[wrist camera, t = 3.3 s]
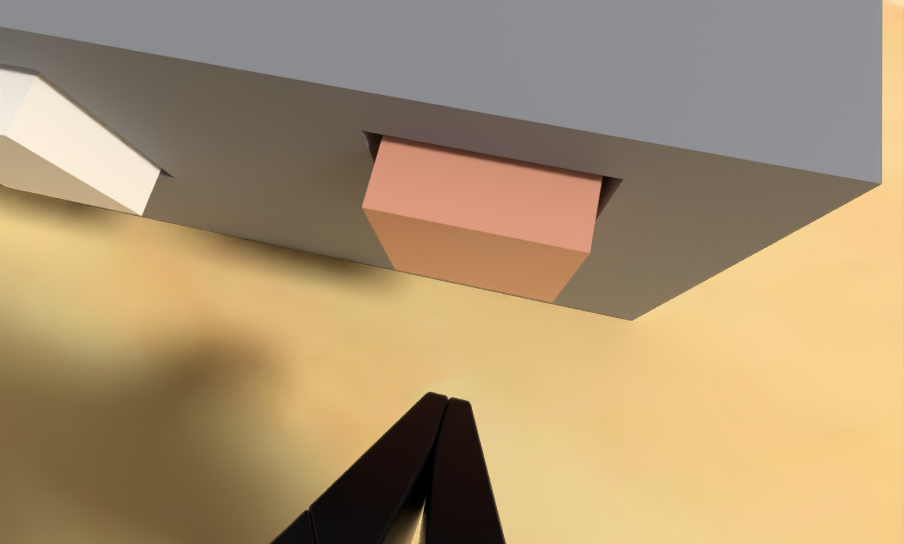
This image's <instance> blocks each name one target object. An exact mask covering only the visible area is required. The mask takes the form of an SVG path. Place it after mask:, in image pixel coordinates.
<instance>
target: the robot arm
mask: <svg viewBox="0 0 904 544" xmlns="http://www.w3.org/2000/svg"><path fill="white" fill-rule="evenodd" d="M424 504H425V505H424ZM423 507H424V511H423ZM422 511H423V517H422V523H421V531H420V539H419V544H506V542H505V538H504V534H503V530H502V526H501V522H500V518H499V514H498V510H497V506H496V502H495V498H494V494H493V490H492V486H491V482H490V478H489V474H488V470H487V466H486V462H485V458H484V454H483V450H482V446H481V442H480V438H479V434H478V430H477V426H476V422H475V418H474V414H473V410H472V406H471V404H470V402H469V401H466V400H462V399H458V398H454V397H451V398H450V399H449V400H448V397H447V396H446V395H442V394H437V393H433V392H428V393H426V394H425V395H424V396H423V397H422V398H421V399H420V400H419V401H418V402H417V403H416V404H415V405H414V406H413V407H412V408H411V409H410V410H409V411H408V412H407V413H406V414H405V415H403V416H402V417H401V418H400V419H399V420H398V421H397V422H396V423H395V424H394V425H393V426H392V427H391V428H390V429H389V430H388V431H387V432H386V433H385V434H384V435H383V436H382V437H381V438H380V439H379V440H378V441H377V442H376V443H374V444H373V445H372V446H371V447H370V448H369V449H368V450H367V451H366V452H365V453H364V454H363V455H362V456H361V457H360V458H359V459H358V460H357V461H356V462H355V463H354V464H353V465H352V466H351V467H350V468H349V469H348V470H346V471H345V472H344V473H343V474H342V475H341V476H340V477H339V478H338V479H337V480H336V481H335V482H334V483H333V484H332V485H331V486H330V487H329V488H328V489H327V490H326V491H325V492H324V493H323V494H322V495H321V496H320V497H319V498H317V499H316V500H315V501H314V502H313V503H312V504H311V505H310V506H309V511H308V510H305V511H304V512H303V513H302V514H301V515H300V516H299V517H298V518H297V519H295V520H294V521H293V522H292V523H291V524H290V525H289V526H288V527H287V528H286V529H285V530H284V531H283V532H282V533H281V534H279V535H278V536H277V537H276V538H275V539H274V540H273V541H272V542H271V543H270V544H410V543H411V541H412V538H413V536H414V533H415V530H416V528H417V525H418V522H419V519H420V517H421V514H422Z"/></svg>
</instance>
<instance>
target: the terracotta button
mask: <svg viewBox="0 0 904 544" xmlns="http://www.w3.org/2000/svg"><path fill="white" fill-rule="evenodd" d="M602 176H603V175H598V174H592V173H587V172H582V171H576V170H571V169H565V168H560V167H555V166H549V165H544V164H539V163H533V162H528V161H522V160H517V159H512V158H506V157H501V156H496V155H490V154H485V153H479V152H474V151H469V150H463V149H458V148H453V147H447V146H442V145H436V144H431V143H426V142H420V141H415V140H410V139H404V138H399V137H393V136H388V135H383V137H382V140H381V144H380V147H379V150H378V154H377V157H376V161H375V164H374V167H373V171H372V174H371V178H370V181H369V184H368V188H367V191H366V194H365V198H364V201H363V205H362V209H363V211H364V213H365V214H366V216H367V218H368V220H369V222H370V224H371V226H372V228H373V229H374V231H375V233H376V235H377V237H378V239H379V241H380V242H381V244H382V246H383V248H384V250H385V252H386V254H387V255H388V257H389V259H390V261H391V263H392V265H393V267H394V268H395V270H400V271H404V272H409V273H414V274H419V275H423V276H428V277H433V278H438V279H442V280H447V281H452V282H456V283H461V284H466V285H471V286H475V287H480V288H485V289H489V290H494V291H499V292H504V293H508V294H513V295H518V296H522V297H527V298H532V299H537V300H541V301H546V302H551V303H552V302H553V301H554V300H555V298H556V297H557V296H558V294H559V293H560V292H561V290H562V289H563V288H564V287H565V285H566V284H567V283H568V281H569V280H570V279H571V277H572V276H573V275H574V274H575V272H576V271H577V270H578V268H579V267H580V266H581V264H582V263H583V262H584V260H585V259H586V258H587V257H588V255H589V254H590V250H591V244H592V238H593V232H594V226H595V219H596V213H597V207H598V201H599V195H600V189H601V182H602Z"/></svg>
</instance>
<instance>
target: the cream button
mask: <svg viewBox="0 0 904 544" xmlns="http://www.w3.org/2000/svg"><path fill="white" fill-rule="evenodd" d="M160 170H161V167H160V166H159V165H157V164H156V163H155V162H153V161H152V160H151V159H150V158H148V157H147V156H146V155H144V154H143V153H142V152H141V151H139V150H138V149H137V148H136V147H134V146H133V145H132V144H130V143H129V142H128V141H127V140H125V139H124V138H123V137H121V136H120V135H119V134H118V133H116V132H115V131H114V130H113V129H111V128H110V127H109V126H107V125H106V124H105V123H104V122H102V121H101V120H100V119H98V118H97V117H96V116H95V115H93V114H92V113H91V112H90V111H88V110H87V109H86V108H84V107H83V106H82V105H81V104H79V103H78V102H77V101H75V100H74V99H73V98H72V97H70V96H69V95H68V94H67V93H65V92H64V91H63V90H61V89H60V88H59V87H58V86H56V85H55V84H54V83H52V82H51V81H50V80H49V79H47V78H46V77H45V76H44V75H42V74H41V73H40V72H38V71H37V70H33V69H28V68H23V67H17V66H12V65H7V64H1V63H0V184H2V185H4V186H6V187H8V188H13V189H17V190H22V191H27V192H32V193H36V194H41V195H46V196H50V197H55V198H60V199H65V200H69V201H74V202H79V203H84V204H88V205H93V206H98V207H102V208H107V209H112V210H117V211H121V212H126V213H131V214H135V215H140V216H142V214H143V211H144V209H145V206H146V204H147V202H148V199H149V197H150V194H151V192H152V190H153V187H154V185H155V182H156V180H157V178H158V175H159V173H160Z"/></svg>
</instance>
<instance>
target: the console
mask: <svg viewBox="0 0 904 544" xmlns="http://www.w3.org/2000/svg"><path fill="white" fill-rule="evenodd" d="M0 63H1V64H7V65H12V66H17V67H23V68H28V69H33V70H37V71H38V72H40V73H41V74H42V75H44V76H45V77H46V78H47V79H49V80H50V81H51V82H52V83H54V84H55V85H56V86H58V87H59V88H60V89H61V90H63V91H64V92H65V93H67V94H68V95H69V96H70V97H72V98H73V99H74V100H75V101H77V102H78V103H79V104H81V105H82V106H83V107H84V108H86V109H87V110H88V111H90V112H91V113H92V114H93V115H95V116H96V117H97V118H98V119H100V120H101V121H102V122H104V123H105V124H106V125H107V126H109V127H110V128H111V129H113V130H114V131H115V132H116V133H118V134H119V135H120V136H121V137H123V138H124V139H125V140H127V141H128V142H129V143H130V144H132V145H133V146H134V147H136V148H137V149H138V150H139V151H141V152H142V153H143V154H144V155H146V156H147V157H148V158H150V159H151V160H152V161H153V162H155V163H156V164H157V165H159V166H160V167H161V170H160V173H159V175H158V178H157V180H156V182H155V185H154V187H153V190H152V192H151V194H150V197H149V199H148V202H147V204H146V206H145V209H144V211H143V214H142V216H141V217H145V218H150V219H155V220H160V221H164V222H169V223H174V224H178V225H183V226H188V227H193V228H197V229H202V230H207V231H211V232H216V233H221V234H226V235H230V236H235V237H240V238H244V239H249V240H254V241H259V242H263V243H268V244H273V245H277V246H282V247H287V248H292V249H296V250H301V251H306V252H310V253H315V254H320V255H325V256H329V257H334V258H339V259H343V260H348V261H353V262H358V263H362V264H367V265H372V266H376V267H381V268H386V269H391V270H395V268H394V267H393V265H392V263H391V261H390V259H389V257H388V255H387V254H386V252H385V250H384V248H383V246H382V244H381V242H380V241H379V239H378V237H377V235H376V233H375V231H374V229H373V228H372V226H371V224H370V222H369V220H368V218H367V216H366V214H365V213H364V211H363V209H362V205H363V201H364V198H365V194H366V191H367V188H368V184H369V181H370V178H371V174H372V171H373V167H374V164H375V161H376V157H377V154H378V150H379V147H380V144H381V140H382V137H383V135H388V136H393V137H399V138H404V139H410V140H415V141H420V142H426V143H431V144H436V145H442V146H447V147H453V148H458V149H463V150H469V151H474V152H479V153H485V154H490V155H496V156H501V157H506V158H512V159H517V160H522V161H528V162H533V163H539V164H544V165H549V166H555V167H560V168H565V169H571V170H576V171H582V172H587V173H592V174H598V175H603V176H602V182H601V189H600V195H599V201H598V207H597V213H596V219H595V226H594V232H593V238H592V244H591V250H590V254H589V255H588V257H587V258H586V259H585V260H584V262H583V263H582V264H581V266H580V267H579V268H578V270H577V271H576V272H575V274H574V275H573V276H572V277H571V279H570V280H569V281H568V283H567V284H566V285H565V287H564V288H563V289H562V290H561V292H560V293H559V294H558V296H557V297H556V298H555V300H554V301H553V302H552V303H551V302H546V301H542V302H546V303H551V304H556V305H560V306H565V307H570V308H575V309H579V310H584V311H589V312H593V313H598V314H603V315H608V316H612V317H617V318H622V319H626V320H631V321H632V320H634V319H636V318H638V317H640V316H642V315H643V314H645V313H647V312H649V311H651V310H652V309H654V308H656V307H658V306H660V305H662V304H663V303H665V302H667V301H669V300H671V299H673V298H674V297H676V296H678V295H680V294H682V293H684V292H685V291H687V290H689V289H691V288H693V287H694V286H696V285H698V284H700V283H702V282H704V281H705V280H707V279H709V278H711V277H713V276H715V275H716V274H718V273H720V272H722V271H724V270H726V269H727V268H729V267H731V266H733V265H735V264H736V263H738V262H740V261H742V260H744V259H746V258H747V257H749V256H751V255H753V254H755V253H757V252H758V251H760V250H762V249H764V248H766V247H768V246H769V245H771V244H773V243H775V242H777V241H778V240H780V239H782V238H784V237H786V236H788V235H789V234H791V233H793V232H795V231H797V230H799V229H800V228H802V227H804V226H806V225H808V224H809V223H811V222H813V221H815V220H817V219H819V218H820V217H822V216H824V215H826V214H828V213H830V212H831V211H833V210H835V209H837V208H839V207H841V206H842V205H844V204H846V203H848V202H850V201H851V200H853V199H855V198H857V197H859V196H861V195H862V194H864V193H866V192H868V191H870V190H872V189H873V188H875V187H877V186H879V185H881V184H882V0H0ZM67 201H69V200H67ZM70 202H74V201H70ZM75 203H79V202H75ZM79 204H84V203H79ZM84 205H88V204H84ZM89 206H93V205H89ZM94 207H98V206H94ZM98 208H102V207H98ZM103 209H107V208H103ZM108 210H112V209H108ZM112 211H117V210H112ZM117 212H121V211H117ZM122 213H126V212H122ZM127 214H131V213H127ZM131 215H135V214H131ZM136 216H140V215H136ZM395 271H400V270H395ZM400 272H404V271H400ZM405 273H409V272H405ZM409 274H414V273H409ZM414 275H419V274H414ZM419 276H423V275H419ZM424 277H428V276H424ZM428 278H433V277H428ZM433 279H438V278H433ZM438 280H442V279H438ZM442 281H447V280H442ZM447 282H452V281H447ZM452 283H456V282H452ZM457 284H461V283H457ZM461 285H466V284H461ZM466 286H471V285H466ZM471 287H475V286H471ZM475 288H480V287H475ZM480 289H485V288H480ZM485 290H489V289H485ZM490 291H494V290H490ZM494 292H499V291H494ZM499 293H504V292H499ZM504 294H508V293H504ZM508 295H513V294H508ZM513 296H518V295H513ZM518 297H522V296H518ZM523 298H527V297H523ZM527 299H532V298H527ZM532 300H537V299H532ZM537 301H541V300H537Z"/></svg>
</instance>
